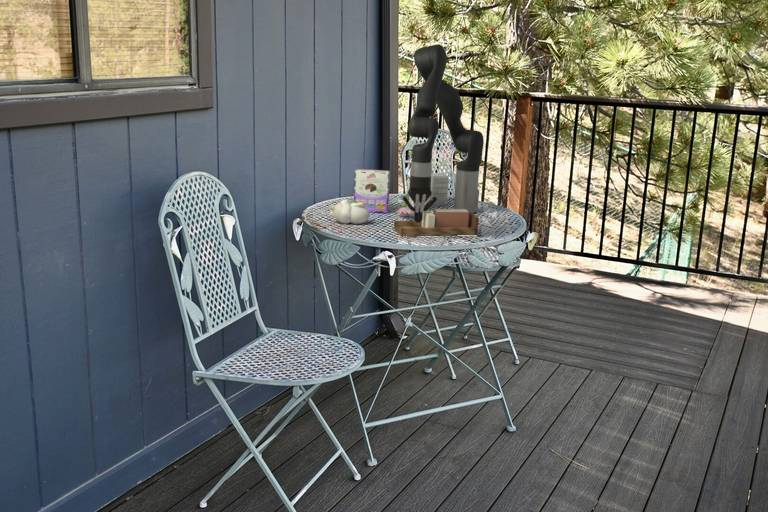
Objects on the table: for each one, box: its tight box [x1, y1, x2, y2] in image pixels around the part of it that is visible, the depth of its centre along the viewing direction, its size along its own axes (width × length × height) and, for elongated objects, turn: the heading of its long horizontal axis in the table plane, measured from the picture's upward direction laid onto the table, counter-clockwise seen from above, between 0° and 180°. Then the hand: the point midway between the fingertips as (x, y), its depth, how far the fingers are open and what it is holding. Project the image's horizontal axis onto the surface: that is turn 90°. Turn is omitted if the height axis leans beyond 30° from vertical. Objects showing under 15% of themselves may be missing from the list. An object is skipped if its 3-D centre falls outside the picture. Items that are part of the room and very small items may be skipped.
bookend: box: [422, 209, 435, 228], centre depth 290 cm, size 2×9×6 cm, turn 11°
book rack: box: [393, 211, 480, 238], centre depth 291 cm, size 28×12×7 cm, turn 101°
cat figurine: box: [328, 198, 371, 225], centre depth 300 cm, size 10×8×15 cm
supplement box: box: [428, 172, 449, 206], centre depth 343 cm, size 7×7×13 cm
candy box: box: [353, 168, 391, 214], centre depth 322 cm, size 14×6×16 cm, turn 84°
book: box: [432, 208, 469, 228], centre depth 292 cm, size 12×4×7 cm, turn 101°
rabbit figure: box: [395, 201, 413, 218], centre depth 316 cm, size 6×6×15 cm
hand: (417, 222), depth 290 cm, fingers closed
